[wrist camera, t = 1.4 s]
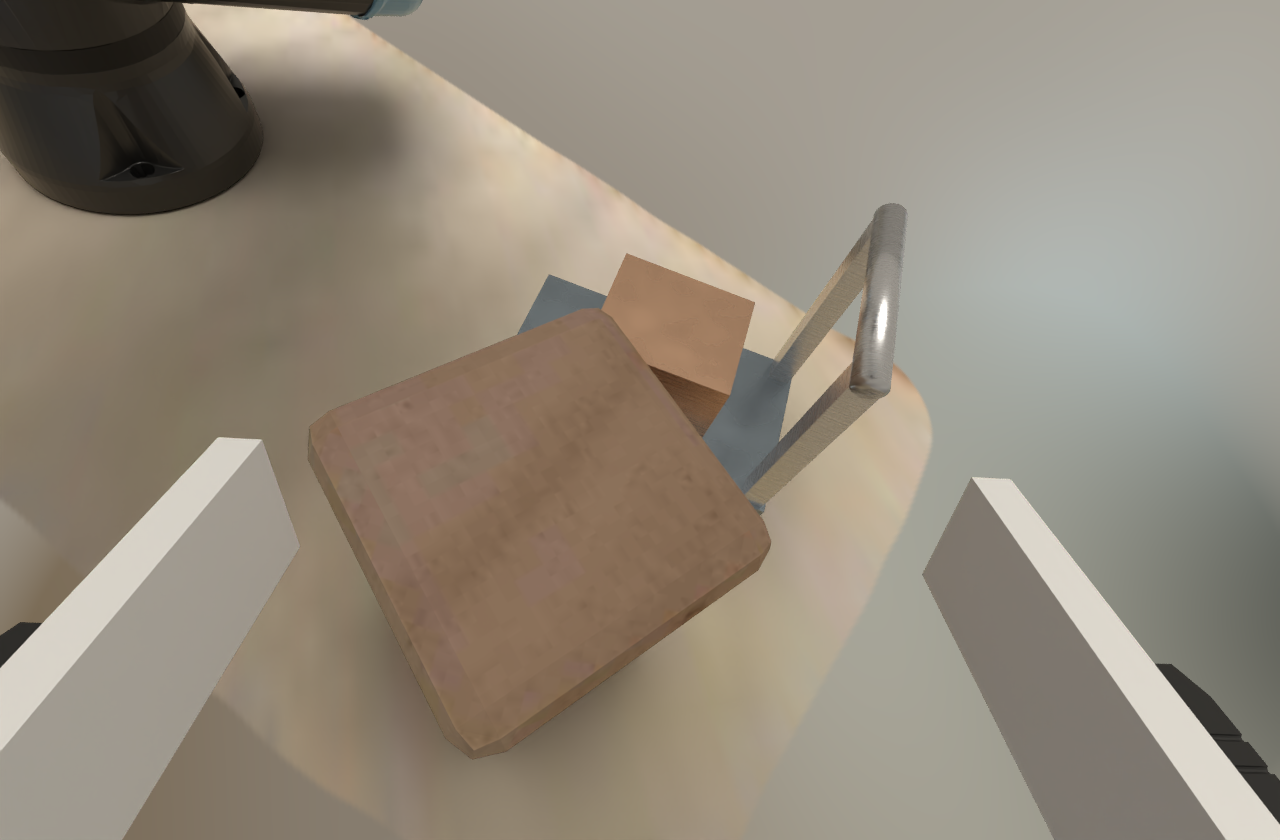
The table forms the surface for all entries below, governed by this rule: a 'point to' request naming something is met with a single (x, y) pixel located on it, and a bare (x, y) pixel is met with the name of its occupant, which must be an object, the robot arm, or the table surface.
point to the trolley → (753, 353)
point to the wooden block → (532, 521)
